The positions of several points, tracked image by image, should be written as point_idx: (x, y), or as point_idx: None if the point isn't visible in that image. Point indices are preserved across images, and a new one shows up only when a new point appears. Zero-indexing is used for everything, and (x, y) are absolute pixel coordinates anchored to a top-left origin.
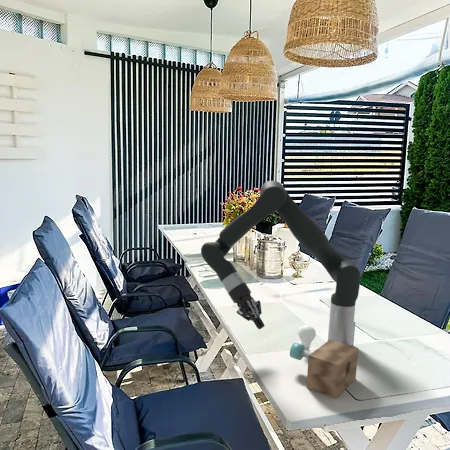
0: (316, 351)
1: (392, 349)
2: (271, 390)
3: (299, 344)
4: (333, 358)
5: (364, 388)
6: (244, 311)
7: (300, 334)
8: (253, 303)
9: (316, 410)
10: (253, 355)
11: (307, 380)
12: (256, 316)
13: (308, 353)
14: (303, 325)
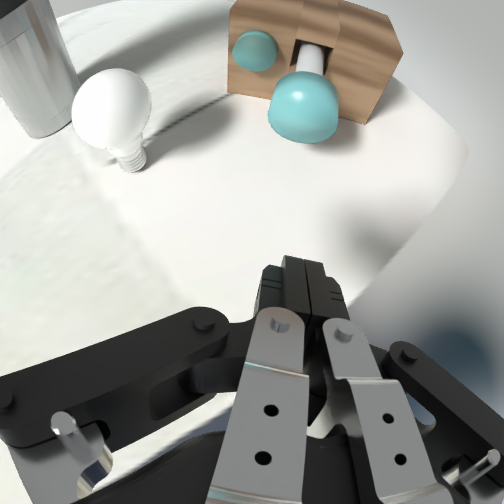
0: (361, 34)
1: (69, 44)
2: (434, 200)
3: (311, 79)
4: (365, 15)
5: None
6: (502, 425)
7: (137, 118)
8: (249, 494)
9: (422, 108)
10: None
11: (372, 109)
12: (347, 326)
13: (319, 71)
14: (93, 96)
